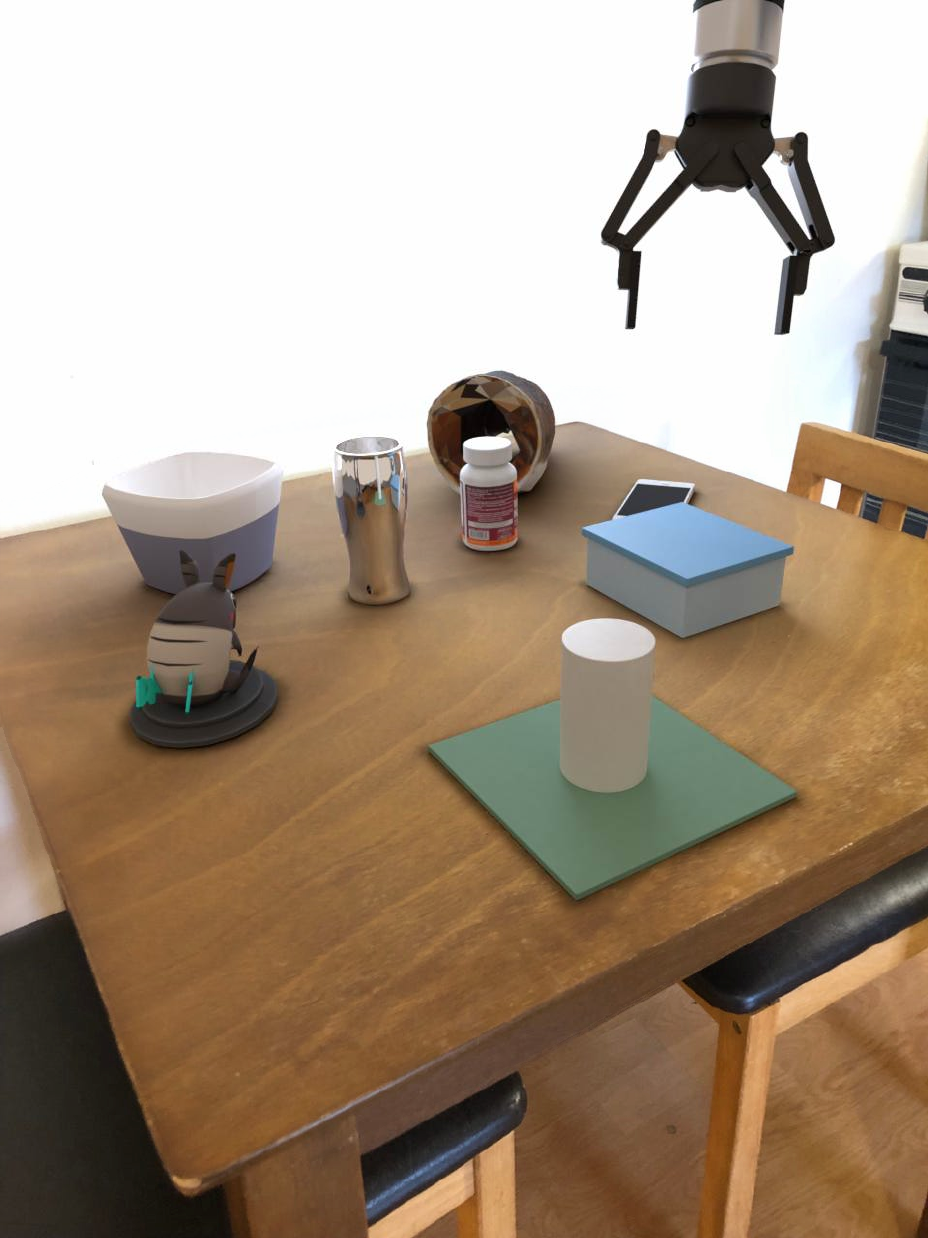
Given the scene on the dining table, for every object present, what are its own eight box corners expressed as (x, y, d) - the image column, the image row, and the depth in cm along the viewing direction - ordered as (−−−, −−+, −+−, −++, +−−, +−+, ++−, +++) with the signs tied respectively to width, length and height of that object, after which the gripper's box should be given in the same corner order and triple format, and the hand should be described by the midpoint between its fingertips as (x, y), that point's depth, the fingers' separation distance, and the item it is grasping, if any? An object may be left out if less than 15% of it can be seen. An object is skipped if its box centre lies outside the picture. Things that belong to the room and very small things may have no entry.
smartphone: (695, 489, 117) (695, 482, 117) (673, 532, 104) (674, 524, 104) (638, 485, 119) (638, 477, 119) (610, 526, 107) (611, 518, 106)
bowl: (201, 539, 107) (185, 445, 102) (312, 559, 101) (301, 459, 96) (101, 591, 95) (77, 487, 90) (220, 617, 89) (202, 506, 84)
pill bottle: (527, 546, 102) (527, 445, 97) (476, 556, 100) (474, 454, 95) (502, 528, 107) (500, 431, 102) (453, 538, 105) (449, 440, 100)
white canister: (665, 774, 64) (675, 644, 59) (594, 804, 61) (599, 670, 56) (610, 733, 68) (615, 610, 64) (542, 759, 66) (543, 632, 61)
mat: (796, 797, 62) (797, 791, 61) (576, 901, 54) (576, 894, 54) (623, 681, 76) (623, 676, 75) (428, 751, 68) (428, 745, 68)
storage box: (786, 606, 87) (794, 546, 84) (682, 641, 81) (687, 578, 79) (678, 555, 99) (682, 501, 96) (580, 583, 93) (581, 527, 90)
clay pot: (573, 363, 131) (538, 364, 108) (581, 472, 135) (550, 496, 112) (472, 375, 136) (418, 378, 112) (482, 480, 139) (432, 505, 116)
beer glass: (360, 575, 97) (347, 432, 90) (423, 581, 95) (415, 436, 88) (333, 603, 91) (317, 453, 84) (400, 610, 89) (389, 457, 82)
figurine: (100, 741, 70) (66, 601, 65) (179, 665, 81) (154, 538, 75) (239, 757, 68) (214, 612, 63) (301, 676, 78) (285, 546, 73)
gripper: (867, 88, 82) (834, 338, 88) (584, 84, 85) (568, 328, 90) (896, 59, 75) (859, 333, 80) (585, 55, 77) (568, 323, 83)
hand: (705, 331), depth 85 cm, fingers open, 13 cm apart
